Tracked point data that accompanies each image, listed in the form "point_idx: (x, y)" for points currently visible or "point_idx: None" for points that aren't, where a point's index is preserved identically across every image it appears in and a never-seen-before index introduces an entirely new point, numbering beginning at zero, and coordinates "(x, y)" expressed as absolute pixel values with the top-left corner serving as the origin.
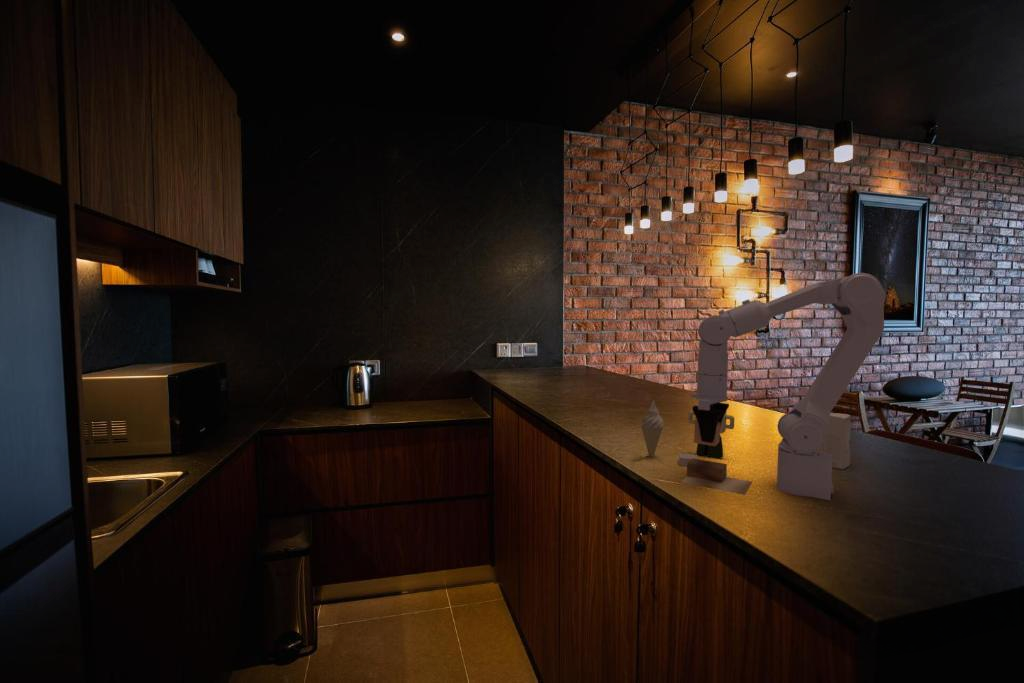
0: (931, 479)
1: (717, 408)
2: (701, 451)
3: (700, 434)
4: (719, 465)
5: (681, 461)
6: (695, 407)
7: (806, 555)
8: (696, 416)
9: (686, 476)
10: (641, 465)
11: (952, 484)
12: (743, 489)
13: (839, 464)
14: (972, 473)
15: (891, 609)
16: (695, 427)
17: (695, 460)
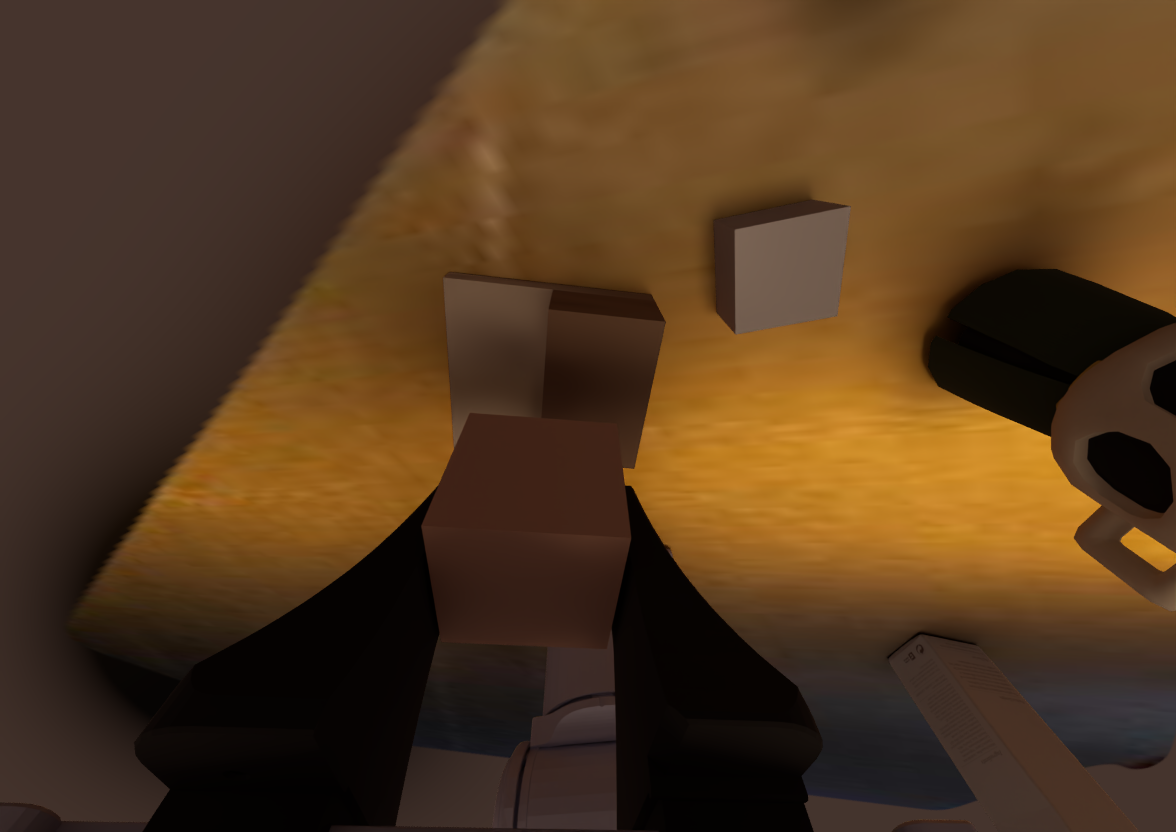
0: (845, 745)
1: (628, 774)
2: (990, 311)
3: (426, 499)
4: None
5: (727, 237)
6: (148, 753)
7: (201, 584)
8: (273, 624)
9: (543, 289)
10: None
11: (818, 758)
12: None
13: (900, 666)
14: (906, 781)
15: (117, 652)
16: (437, 497)
17: (623, 342)
